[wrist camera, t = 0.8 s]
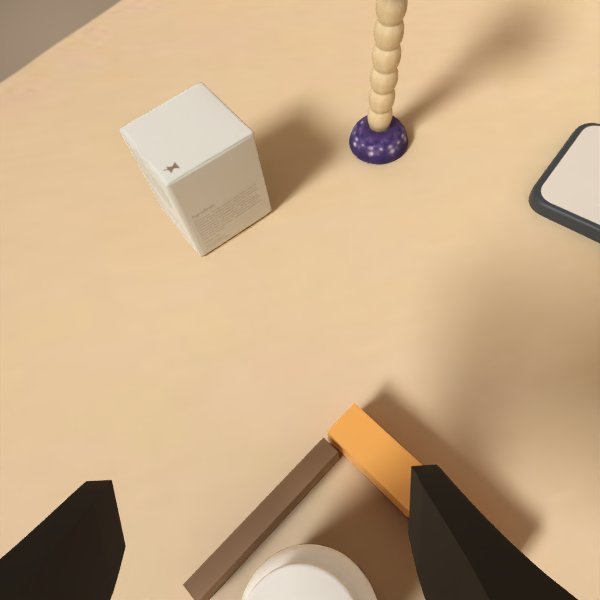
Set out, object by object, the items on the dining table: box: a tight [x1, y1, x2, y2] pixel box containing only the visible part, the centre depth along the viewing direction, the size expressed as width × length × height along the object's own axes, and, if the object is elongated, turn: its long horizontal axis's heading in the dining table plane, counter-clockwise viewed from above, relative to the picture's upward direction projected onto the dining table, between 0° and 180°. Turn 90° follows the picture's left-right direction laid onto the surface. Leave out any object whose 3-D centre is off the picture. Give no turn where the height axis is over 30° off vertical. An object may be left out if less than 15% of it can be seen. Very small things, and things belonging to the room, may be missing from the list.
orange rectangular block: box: [327, 403, 422, 518], centre depth 24 cm, size 10×2×2 cm, turn 45°
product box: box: [120, 83, 272, 256], centre depth 32 cm, size 6×6×7 cm
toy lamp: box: [349, 0, 408, 164], centre depth 29 cm, size 5×5×17 cm
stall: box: [183, 438, 339, 600], centre depth 22 cm, size 10×9×2 cm
